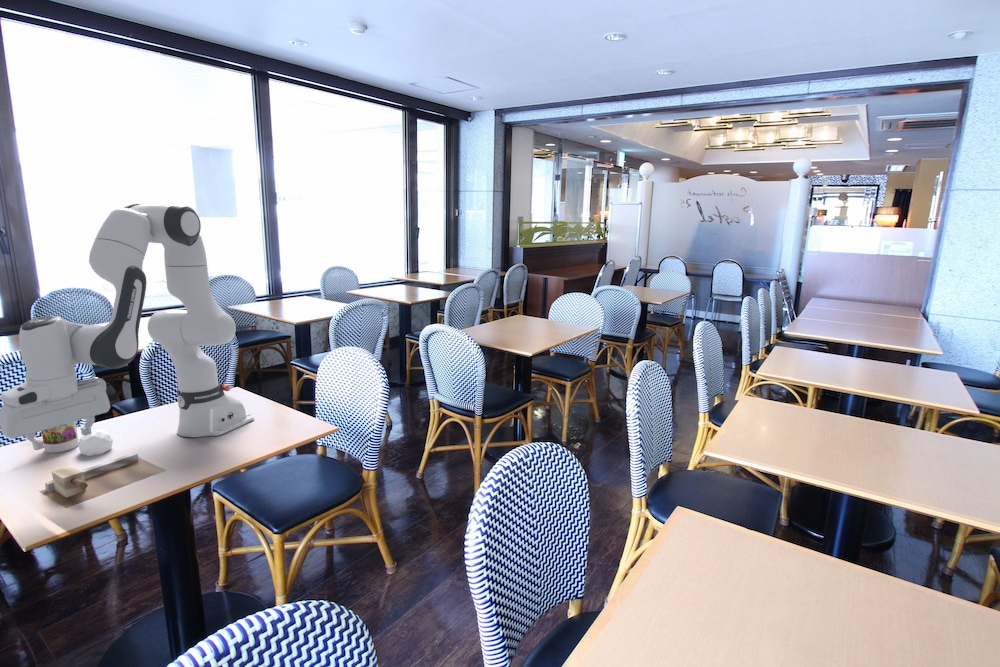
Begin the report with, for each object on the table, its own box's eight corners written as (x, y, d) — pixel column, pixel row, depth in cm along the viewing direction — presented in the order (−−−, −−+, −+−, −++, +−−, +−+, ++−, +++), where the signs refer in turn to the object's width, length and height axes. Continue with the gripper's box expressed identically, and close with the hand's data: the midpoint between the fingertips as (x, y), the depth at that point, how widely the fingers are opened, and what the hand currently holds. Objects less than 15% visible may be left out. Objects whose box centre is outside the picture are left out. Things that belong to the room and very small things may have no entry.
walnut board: (138, 462, 146) (137, 449, 145) (166, 475, 139) (165, 462, 138) (40, 496, 127) (38, 482, 126) (67, 513, 120) (64, 498, 119)
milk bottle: (46, 446, 154) (35, 381, 150) (79, 440, 158) (69, 377, 154) (43, 456, 148) (31, 388, 144) (78, 449, 152) (67, 384, 148)
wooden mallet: (74, 483, 130) (71, 465, 129) (96, 496, 125) (93, 477, 124) (54, 490, 127) (51, 471, 126) (76, 503, 122) (73, 484, 121)
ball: (102, 466, 148) (96, 452, 143) (74, 456, 148) (67, 442, 142) (121, 444, 154) (117, 430, 149) (94, 435, 153) (89, 420, 148)
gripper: (98, 372, 132) (106, 423, 135) (-10, 396, 115) (3, 454, 118) (110, 377, 129) (118, 429, 132) (2, 402, 112) (15, 461, 115)
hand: (63, 441), depth 125 cm, fingers open, 8 cm apart
